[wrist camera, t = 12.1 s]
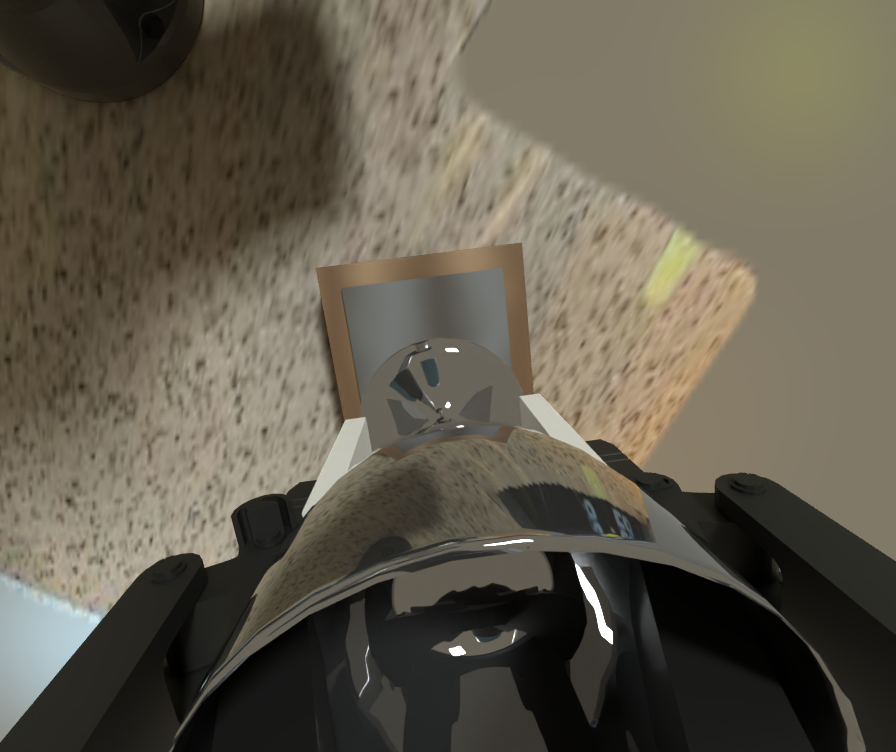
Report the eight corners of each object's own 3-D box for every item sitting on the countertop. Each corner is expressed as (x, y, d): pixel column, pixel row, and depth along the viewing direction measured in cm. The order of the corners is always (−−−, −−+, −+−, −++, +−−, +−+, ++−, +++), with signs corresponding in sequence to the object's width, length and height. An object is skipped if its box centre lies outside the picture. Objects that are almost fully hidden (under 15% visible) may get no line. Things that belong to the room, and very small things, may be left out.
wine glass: (538, 324, 19) (947, 525, 4) (533, 500, 21) (807, 1054, 6) (343, 330, 18) (59, 573, 4) (356, 508, 20) (198, 1129, 6)
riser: (358, 440, 38) (350, 461, 34) (327, 267, 35) (314, 268, 30) (524, 417, 38) (537, 436, 34) (510, 245, 35) (522, 242, 31)
